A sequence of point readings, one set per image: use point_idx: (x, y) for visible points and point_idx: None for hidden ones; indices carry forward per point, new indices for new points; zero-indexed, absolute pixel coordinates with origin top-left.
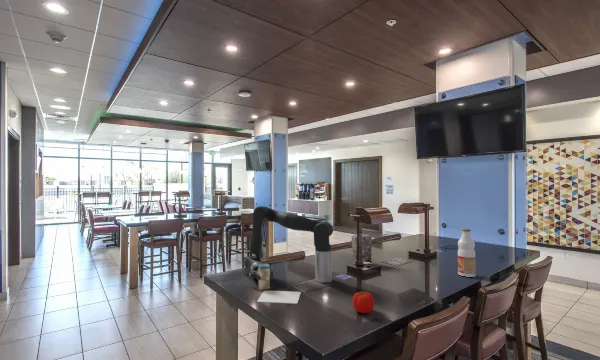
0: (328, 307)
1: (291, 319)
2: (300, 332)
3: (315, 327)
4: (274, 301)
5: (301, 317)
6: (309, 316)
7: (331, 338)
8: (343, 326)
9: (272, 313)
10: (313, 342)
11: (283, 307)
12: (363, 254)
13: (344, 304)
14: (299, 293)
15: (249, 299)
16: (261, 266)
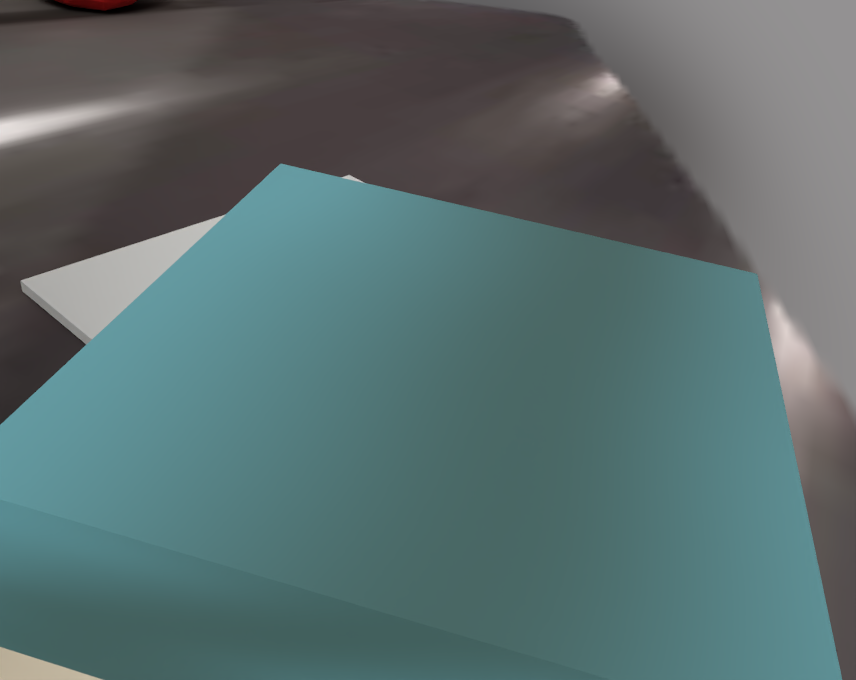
0: (197, 79)
1: (550, 119)
2: (574, 69)
3: (476, 56)
4: None
5: (475, 105)
6: (420, 92)
7: (475, 20)
8: (348, 17)
9: (645, 197)
10: (562, 37)
11: (506, 205)
12: None
13: (54, 51)
14: (95, 265)
15: (845, 509)
16: (697, 271)
